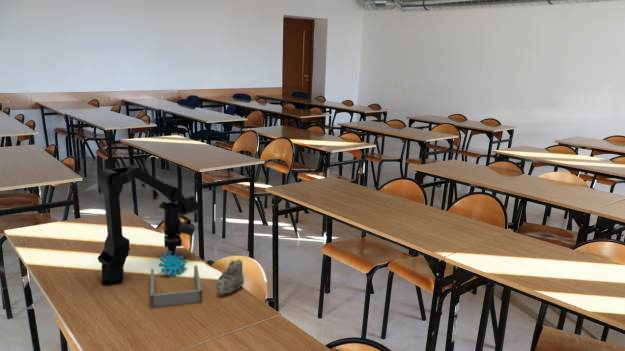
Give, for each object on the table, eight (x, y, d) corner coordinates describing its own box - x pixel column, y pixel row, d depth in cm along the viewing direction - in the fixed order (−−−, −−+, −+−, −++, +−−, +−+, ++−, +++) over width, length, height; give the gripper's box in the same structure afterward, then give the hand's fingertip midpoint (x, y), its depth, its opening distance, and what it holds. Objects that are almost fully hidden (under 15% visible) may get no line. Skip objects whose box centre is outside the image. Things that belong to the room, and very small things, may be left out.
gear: (162, 276, 165) (157, 250, 170) (156, 282, 169) (152, 257, 174) (191, 273, 172) (186, 248, 176) (185, 279, 176) (181, 255, 180)
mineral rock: (219, 299, 155) (219, 271, 153) (205, 286, 163) (205, 260, 161) (252, 289, 163) (253, 263, 160) (238, 277, 171) (238, 252, 169)
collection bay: (150, 307, 148) (150, 296, 147) (151, 279, 166) (150, 269, 165) (202, 301, 153) (202, 290, 152) (197, 275, 171) (196, 265, 170)
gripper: (195, 224, 172) (195, 263, 176) (191, 209, 189) (192, 244, 193) (164, 226, 169) (165, 265, 172) (163, 210, 186) (164, 246, 189)
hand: (172, 255), depth 182 cm, fingers closed
